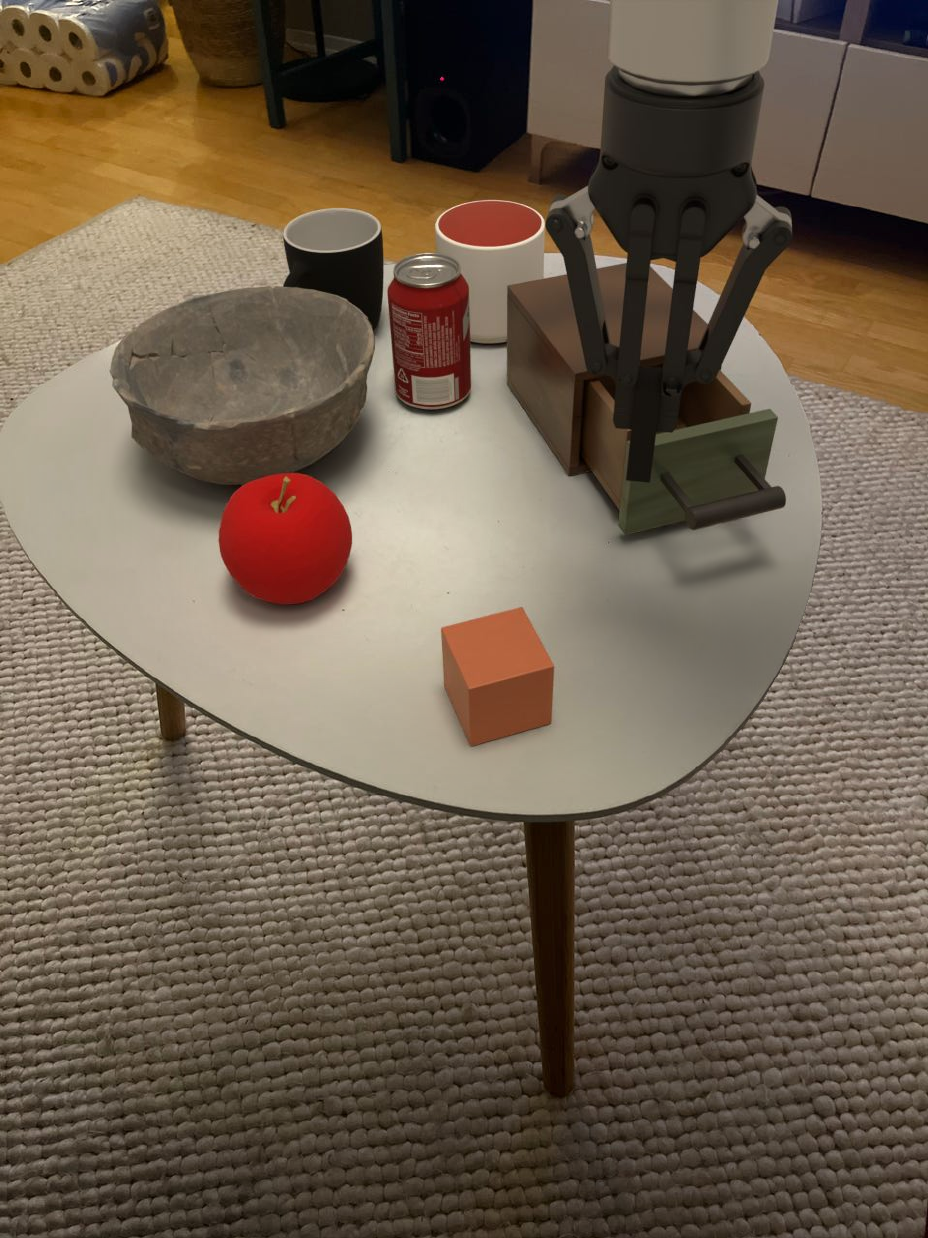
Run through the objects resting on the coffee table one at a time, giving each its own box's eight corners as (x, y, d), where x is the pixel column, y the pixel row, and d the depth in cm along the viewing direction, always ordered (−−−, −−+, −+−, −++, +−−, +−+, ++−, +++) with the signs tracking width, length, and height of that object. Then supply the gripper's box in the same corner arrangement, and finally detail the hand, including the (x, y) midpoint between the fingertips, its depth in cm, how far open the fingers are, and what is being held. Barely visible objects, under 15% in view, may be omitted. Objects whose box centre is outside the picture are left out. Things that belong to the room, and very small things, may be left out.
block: (551, 724, 68) (554, 665, 64) (470, 747, 67) (468, 689, 63) (521, 664, 72) (522, 605, 68) (443, 685, 71) (440, 627, 67)
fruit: (257, 644, 74) (231, 534, 67) (213, 568, 80) (185, 459, 72) (377, 597, 77) (365, 487, 70) (327, 527, 83) (311, 419, 75)
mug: (338, 297, 108) (326, 199, 101) (408, 322, 104) (401, 221, 97) (256, 350, 101) (238, 248, 94) (328, 378, 97) (314, 275, 90)
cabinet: (708, 444, 89) (725, 341, 82) (569, 476, 86) (574, 373, 80) (634, 356, 99) (643, 258, 92) (506, 383, 96) (507, 284, 89)
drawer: (800, 548, 78) (822, 462, 73) (658, 585, 76) (671, 499, 70) (679, 408, 91) (691, 326, 86) (556, 436, 89) (559, 353, 83)
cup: (550, 301, 106) (553, 203, 99) (531, 354, 100) (534, 252, 92) (452, 292, 108) (449, 195, 101) (428, 343, 101) (422, 243, 94)
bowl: (329, 360, 100) (316, 259, 93) (427, 478, 87) (420, 371, 80) (110, 424, 93) (78, 321, 86) (180, 562, 80) (149, 453, 73)
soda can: (463, 418, 92) (460, 290, 84) (388, 412, 93) (376, 285, 85) (477, 376, 97) (475, 251, 89) (405, 370, 98) (395, 246, 90)
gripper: (823, 45, 52) (745, 443, 69) (558, 36, 54) (544, 425, 71) (831, 101, 47) (744, 516, 64) (538, 89, 49) (528, 495, 66)
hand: (639, 468), depth 67 cm, fingers closed
